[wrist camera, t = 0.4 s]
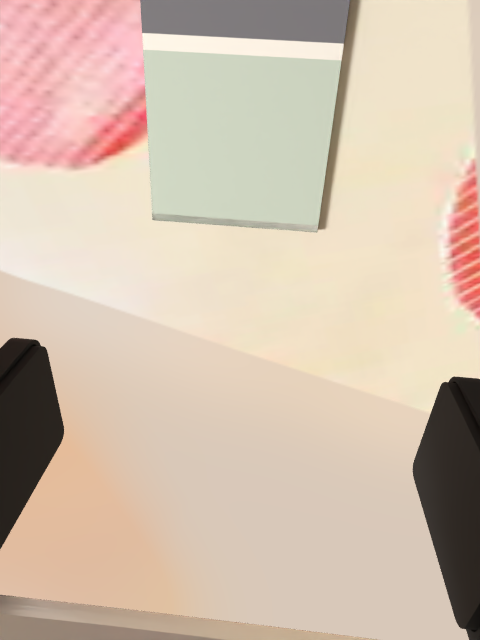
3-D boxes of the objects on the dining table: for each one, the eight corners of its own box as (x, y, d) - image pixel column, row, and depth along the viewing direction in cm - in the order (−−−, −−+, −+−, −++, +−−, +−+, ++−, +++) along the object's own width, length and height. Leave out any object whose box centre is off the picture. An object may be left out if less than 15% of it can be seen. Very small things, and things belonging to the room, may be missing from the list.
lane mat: (137, -109, 28) (134, -112, 28) (363, -101, 27) (364, -104, 27) (154, 217, 39) (152, 220, 39) (316, 229, 38) (317, 232, 38)
